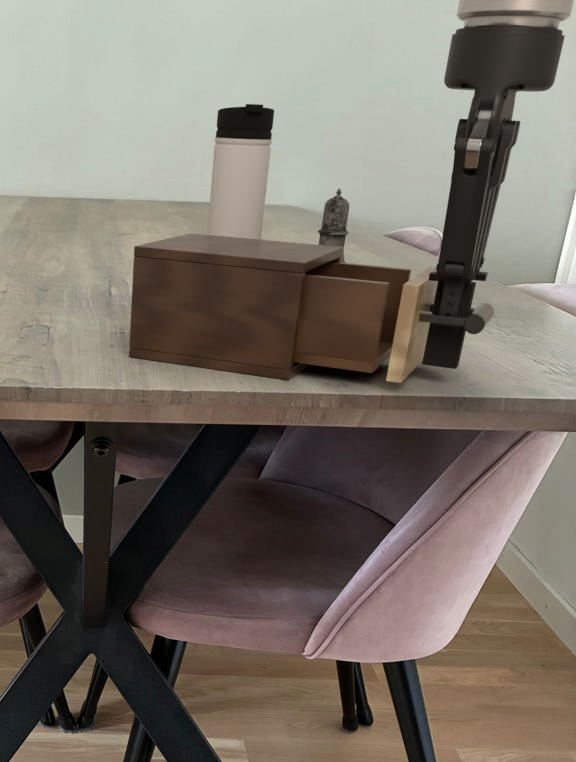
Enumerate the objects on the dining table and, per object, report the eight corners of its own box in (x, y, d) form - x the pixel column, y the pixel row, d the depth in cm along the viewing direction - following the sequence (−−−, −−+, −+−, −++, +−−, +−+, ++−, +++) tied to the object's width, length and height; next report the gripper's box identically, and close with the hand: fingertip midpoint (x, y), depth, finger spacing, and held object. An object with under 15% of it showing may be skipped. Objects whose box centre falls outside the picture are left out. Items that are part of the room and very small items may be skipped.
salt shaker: (357, 299, 115) (375, 189, 109) (332, 304, 111) (348, 191, 105) (316, 292, 118) (330, 185, 113) (289, 297, 115) (303, 187, 109)
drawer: (485, 363, 82) (505, 274, 79) (466, 392, 73) (488, 292, 70) (278, 337, 89) (289, 253, 86) (238, 360, 80) (248, 268, 77)
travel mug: (210, 300, 111) (227, 103, 101) (196, 290, 116) (211, 103, 106) (262, 300, 111) (284, 105, 102) (245, 291, 117) (265, 105, 107)
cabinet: (328, 352, 88) (344, 247, 84) (288, 380, 78) (304, 262, 74) (182, 333, 94) (190, 233, 89) (128, 356, 84) (133, 246, 79)
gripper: (467, 33, 74) (409, 345, 85) (439, 17, 63) (377, 374, 75) (572, 33, 71) (497, 356, 82) (560, 17, 61) (476, 388, 72)
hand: (440, 364), depth 79 cm, fingers closed
